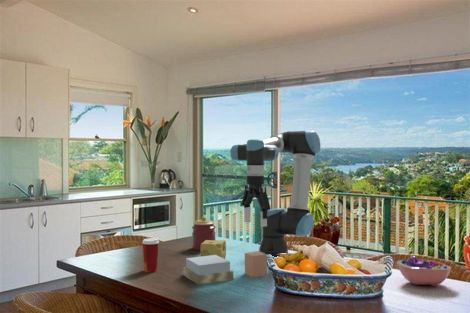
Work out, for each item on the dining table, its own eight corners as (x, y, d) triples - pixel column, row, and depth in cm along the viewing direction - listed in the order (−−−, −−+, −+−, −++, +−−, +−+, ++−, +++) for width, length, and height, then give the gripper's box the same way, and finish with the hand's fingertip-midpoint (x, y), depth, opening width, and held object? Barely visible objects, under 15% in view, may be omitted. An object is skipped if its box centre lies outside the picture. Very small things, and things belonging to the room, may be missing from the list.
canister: (215, 251, 243) (214, 218, 243) (190, 251, 243) (190, 218, 243) (216, 246, 256) (216, 214, 256) (193, 246, 256) (193, 214, 256)
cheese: (221, 265, 213) (221, 244, 213) (199, 264, 215) (199, 243, 215) (226, 260, 223) (226, 240, 223) (205, 259, 225) (204, 239, 225)
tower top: (215, 263, 203) (215, 254, 203) (229, 271, 190) (229, 261, 190) (186, 267, 196) (186, 258, 196) (199, 275, 184) (199, 265, 184)
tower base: (216, 271, 204) (216, 262, 204) (233, 280, 190) (233, 271, 190) (183, 276, 197) (183, 267, 197) (198, 286, 183) (198, 276, 183)
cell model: (448, 294, 169) (448, 264, 169) (392, 286, 180) (392, 257, 179) (453, 283, 183) (453, 255, 183) (401, 276, 194) (401, 249, 194)
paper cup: (162, 269, 206) (162, 238, 206) (152, 273, 199) (152, 241, 199) (148, 267, 209) (148, 237, 209) (138, 271, 202) (138, 240, 202)
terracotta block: (258, 271, 203) (258, 251, 202) (266, 275, 196) (266, 254, 196) (244, 273, 199) (244, 252, 199) (253, 277, 193) (252, 256, 193)
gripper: (233, 174, 206) (234, 221, 207) (263, 176, 184) (263, 229, 185) (248, 173, 210) (248, 219, 210) (278, 176, 188) (278, 227, 188)
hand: (255, 224), depth 197 cm, fingers open, 13 cm apart
